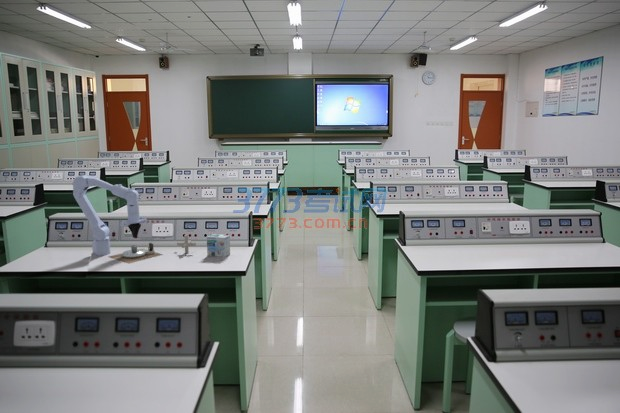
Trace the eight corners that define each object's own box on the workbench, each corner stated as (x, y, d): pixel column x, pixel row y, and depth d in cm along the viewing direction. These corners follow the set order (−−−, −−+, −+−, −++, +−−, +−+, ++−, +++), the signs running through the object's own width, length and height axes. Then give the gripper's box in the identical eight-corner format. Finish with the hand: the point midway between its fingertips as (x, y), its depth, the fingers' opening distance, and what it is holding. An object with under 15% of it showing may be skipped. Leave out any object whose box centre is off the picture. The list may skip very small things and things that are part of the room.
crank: (122, 259, 226) (121, 248, 225) (122, 253, 237) (121, 243, 236) (155, 255, 232) (154, 245, 231) (154, 250, 243) (153, 240, 242)
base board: (107, 258, 232) (107, 256, 232) (142, 250, 248) (141, 248, 247) (128, 265, 220) (128, 263, 220) (163, 256, 236) (163, 254, 235)
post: (130, 251, 234) (130, 246, 233) (135, 250, 236) (134, 245, 235) (133, 252, 232) (133, 246, 231) (138, 251, 234) (137, 245, 233)
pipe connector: (198, 250, 247) (198, 233, 245) (192, 255, 237) (191, 237, 236) (181, 250, 248) (180, 232, 246) (174, 255, 238) (173, 237, 237)
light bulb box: (207, 256, 237) (206, 236, 235) (212, 252, 243) (211, 233, 242) (225, 257, 234) (224, 237, 233) (230, 253, 241) (230, 234, 239)
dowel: (147, 252, 239) (147, 246, 238) (150, 252, 240) (149, 246, 240) (149, 253, 238) (148, 247, 237) (151, 252, 239) (151, 246, 239)
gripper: (124, 215, 228) (126, 241, 231) (149, 211, 240) (151, 235, 242) (117, 214, 233) (119, 239, 235) (142, 210, 244) (143, 234, 246)
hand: (135, 237), depth 239 cm, fingers closed
